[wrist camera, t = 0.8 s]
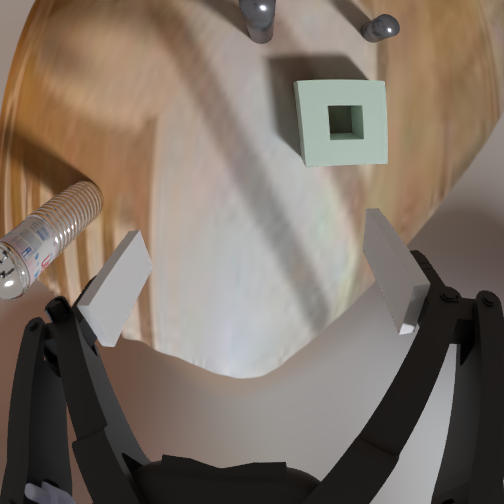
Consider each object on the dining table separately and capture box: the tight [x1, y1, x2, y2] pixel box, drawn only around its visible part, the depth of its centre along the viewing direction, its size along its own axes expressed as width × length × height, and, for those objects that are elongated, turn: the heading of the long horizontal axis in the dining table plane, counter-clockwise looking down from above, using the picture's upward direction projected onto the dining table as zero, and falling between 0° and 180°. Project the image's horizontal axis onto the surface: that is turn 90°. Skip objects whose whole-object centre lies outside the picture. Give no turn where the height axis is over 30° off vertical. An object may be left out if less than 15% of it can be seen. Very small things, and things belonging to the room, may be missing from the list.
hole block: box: [293, 80, 388, 167], centre depth 30 cm, size 10×10×5 cm
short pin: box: [361, 14, 400, 43], centre depth 23 cm, size 3×3×6 cm
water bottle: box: [0, 180, 103, 300], centre depth 29 cm, size 7×7×25 cm
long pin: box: [239, 0, 276, 44], centre depth 21 cm, size 3×3×14 cm
